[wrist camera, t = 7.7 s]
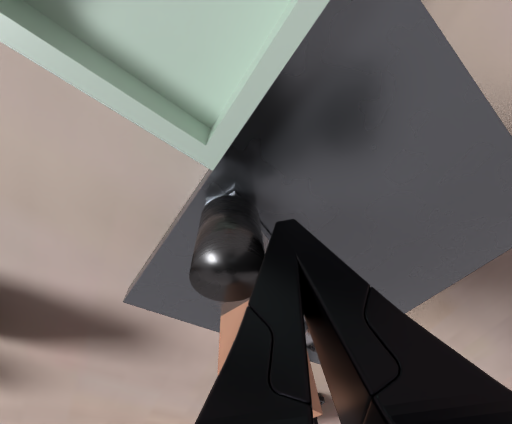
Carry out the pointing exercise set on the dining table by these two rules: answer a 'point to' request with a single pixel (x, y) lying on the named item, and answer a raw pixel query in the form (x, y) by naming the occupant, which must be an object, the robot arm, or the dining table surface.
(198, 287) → the crank
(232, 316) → the block
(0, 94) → the dining table surface
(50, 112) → the dining table surface
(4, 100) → the dining table surface
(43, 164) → the dining table surface
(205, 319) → the base plate
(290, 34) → the tray
